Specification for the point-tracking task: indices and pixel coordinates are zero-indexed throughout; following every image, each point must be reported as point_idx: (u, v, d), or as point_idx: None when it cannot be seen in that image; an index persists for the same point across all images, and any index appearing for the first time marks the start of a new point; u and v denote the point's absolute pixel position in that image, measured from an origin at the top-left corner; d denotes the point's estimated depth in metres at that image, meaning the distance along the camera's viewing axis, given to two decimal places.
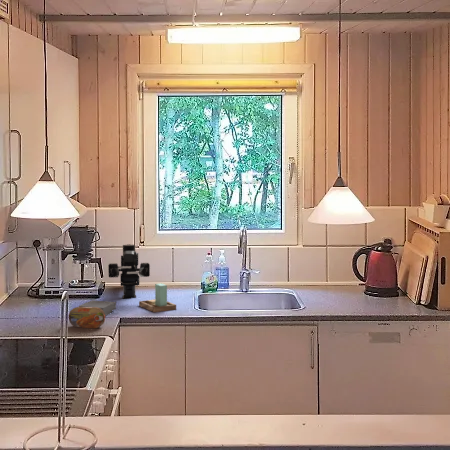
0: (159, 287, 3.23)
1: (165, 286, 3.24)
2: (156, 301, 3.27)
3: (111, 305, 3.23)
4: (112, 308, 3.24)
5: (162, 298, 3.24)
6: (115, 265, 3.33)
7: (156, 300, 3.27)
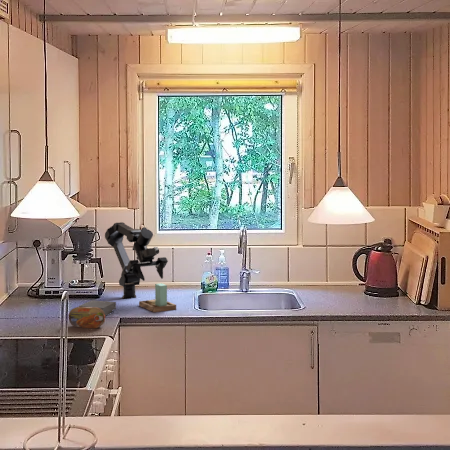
0: (159, 287, 3.23)
1: (165, 286, 3.24)
2: (156, 301, 3.27)
3: (111, 305, 3.23)
4: (112, 308, 3.24)
5: (162, 298, 3.24)
6: (138, 265, 3.30)
7: (156, 300, 3.27)
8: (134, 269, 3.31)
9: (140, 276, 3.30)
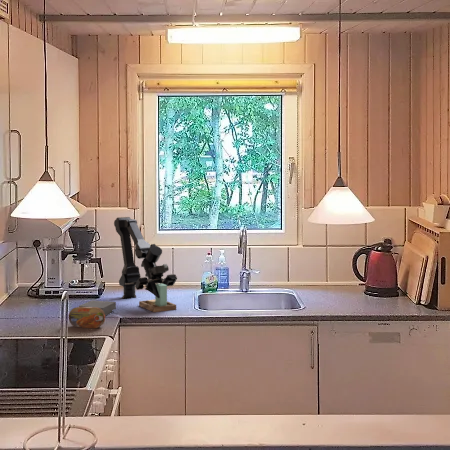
0: (159, 287, 3.23)
1: (165, 286, 3.24)
2: (156, 301, 3.27)
3: (111, 305, 3.23)
4: (112, 308, 3.24)
5: (162, 298, 3.24)
6: (153, 282, 3.25)
7: (156, 300, 3.27)
8: (149, 286, 3.26)
9: (155, 293, 3.25)
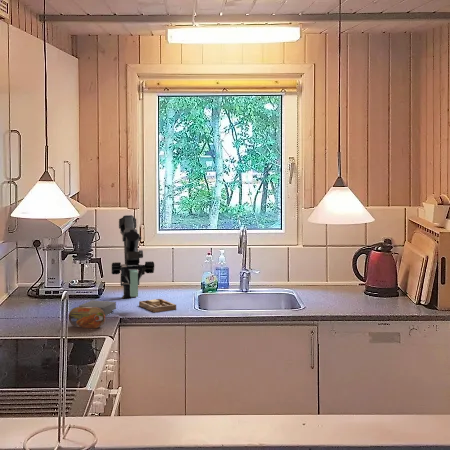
0: (130, 273, 3.19)
1: (136, 272, 3.19)
2: None
3: (111, 305, 3.23)
4: (112, 308, 3.24)
5: (132, 285, 3.19)
6: (125, 268, 3.22)
7: None
8: (123, 272, 3.24)
9: (127, 279, 3.22)
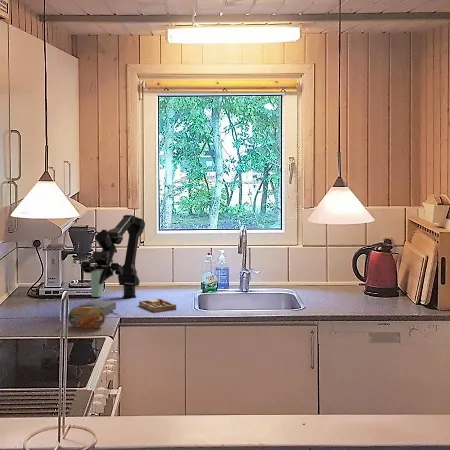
0: None
1: (96, 273, 3.19)
2: None
3: (111, 305, 3.23)
4: (112, 308, 3.24)
5: (92, 285, 3.20)
6: (91, 267, 3.23)
7: None
8: None
9: None
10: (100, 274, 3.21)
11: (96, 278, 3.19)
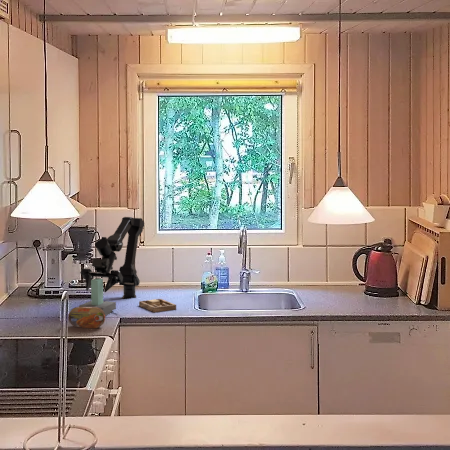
0: None
1: (96, 281, 3.19)
2: None
3: (111, 305, 3.23)
4: (112, 308, 3.24)
5: (92, 293, 3.20)
6: (86, 274, 3.24)
7: None
8: None
9: None
10: (100, 282, 3.21)
11: (96, 287, 3.19)
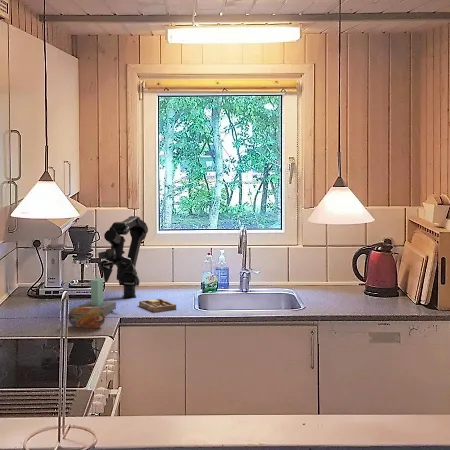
0: None
1: (96, 281, 3.19)
2: None
3: (111, 305, 3.23)
4: (112, 308, 3.24)
5: (92, 293, 3.20)
6: (101, 267, 3.37)
7: None
8: None
9: None
10: (100, 282, 3.21)
11: (96, 287, 3.19)
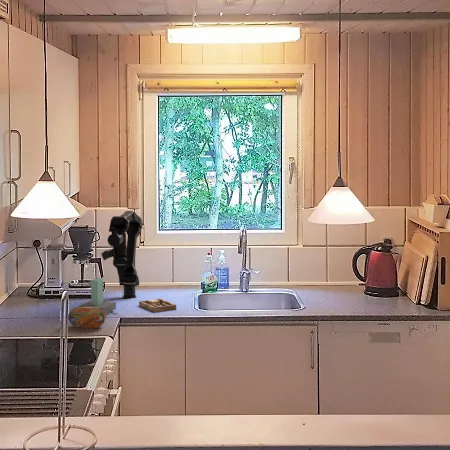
0: None
1: (96, 281, 3.19)
2: None
3: (111, 305, 3.23)
4: (112, 308, 3.24)
5: (92, 293, 3.20)
6: None
7: None
8: None
9: None
10: (100, 282, 3.21)
11: (96, 287, 3.19)
